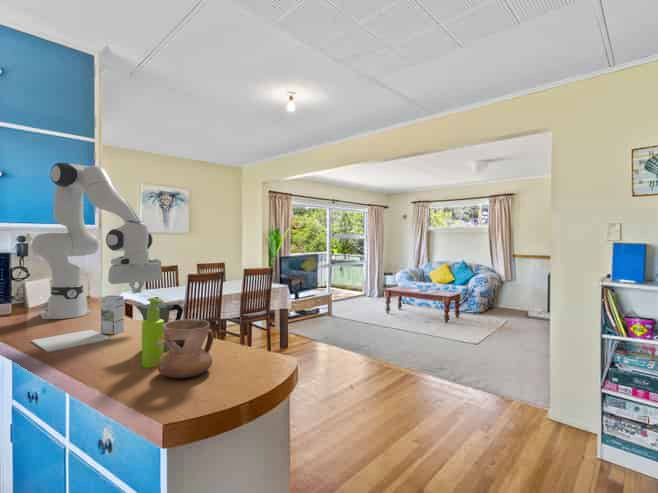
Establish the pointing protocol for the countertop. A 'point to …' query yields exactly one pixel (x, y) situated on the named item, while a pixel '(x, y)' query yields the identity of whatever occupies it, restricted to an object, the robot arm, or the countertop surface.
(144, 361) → the soap dispenser
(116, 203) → the robot arm
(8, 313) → the countertop surface
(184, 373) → the ceramic jug
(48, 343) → the grey mat
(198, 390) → the countertop surface
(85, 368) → the countertop surface
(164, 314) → the coffeepot
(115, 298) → the syrup box
